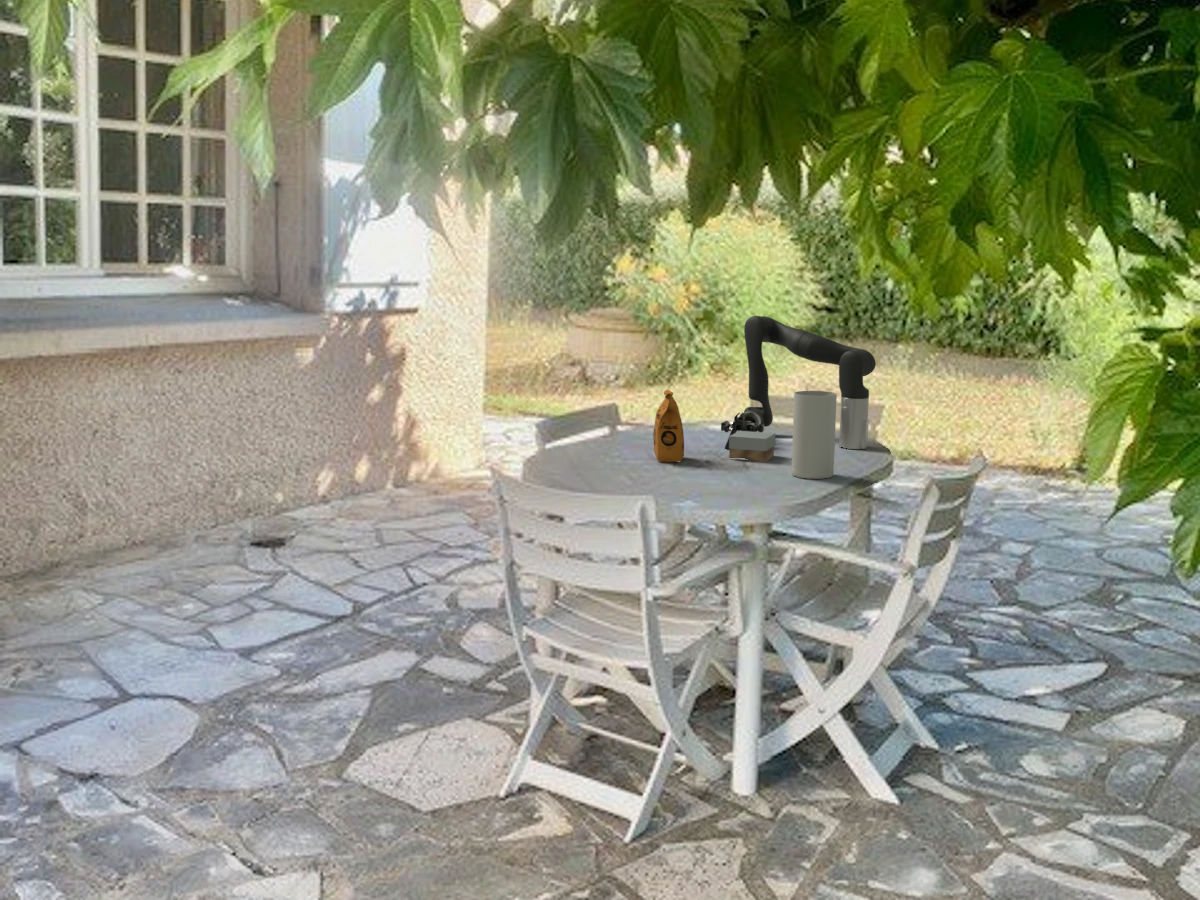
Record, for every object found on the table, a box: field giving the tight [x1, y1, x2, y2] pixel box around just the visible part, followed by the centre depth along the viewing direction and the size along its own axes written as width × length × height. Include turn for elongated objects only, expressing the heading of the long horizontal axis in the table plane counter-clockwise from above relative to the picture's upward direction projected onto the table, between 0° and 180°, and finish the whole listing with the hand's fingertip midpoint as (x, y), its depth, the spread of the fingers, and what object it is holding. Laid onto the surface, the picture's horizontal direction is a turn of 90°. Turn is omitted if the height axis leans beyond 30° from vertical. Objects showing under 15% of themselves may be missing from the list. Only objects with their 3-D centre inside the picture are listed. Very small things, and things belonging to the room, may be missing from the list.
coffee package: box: [652, 389, 685, 463], centre depth 402 cm, size 10×12×22 cm
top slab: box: [728, 431, 776, 451], centre depth 406 cm, size 12×12×4 cm
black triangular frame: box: [724, 411, 748, 451], centre depth 423 cm, size 9×6×12 cm, turn 75°
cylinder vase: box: [791, 390, 838, 480], centre depth 376 cm, size 12×12×25 cm
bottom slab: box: [728, 446, 775, 463], centre depth 408 cm, size 12×12×4 cm
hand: (738, 430), depth 421 cm, fingers open, 8 cm apart
